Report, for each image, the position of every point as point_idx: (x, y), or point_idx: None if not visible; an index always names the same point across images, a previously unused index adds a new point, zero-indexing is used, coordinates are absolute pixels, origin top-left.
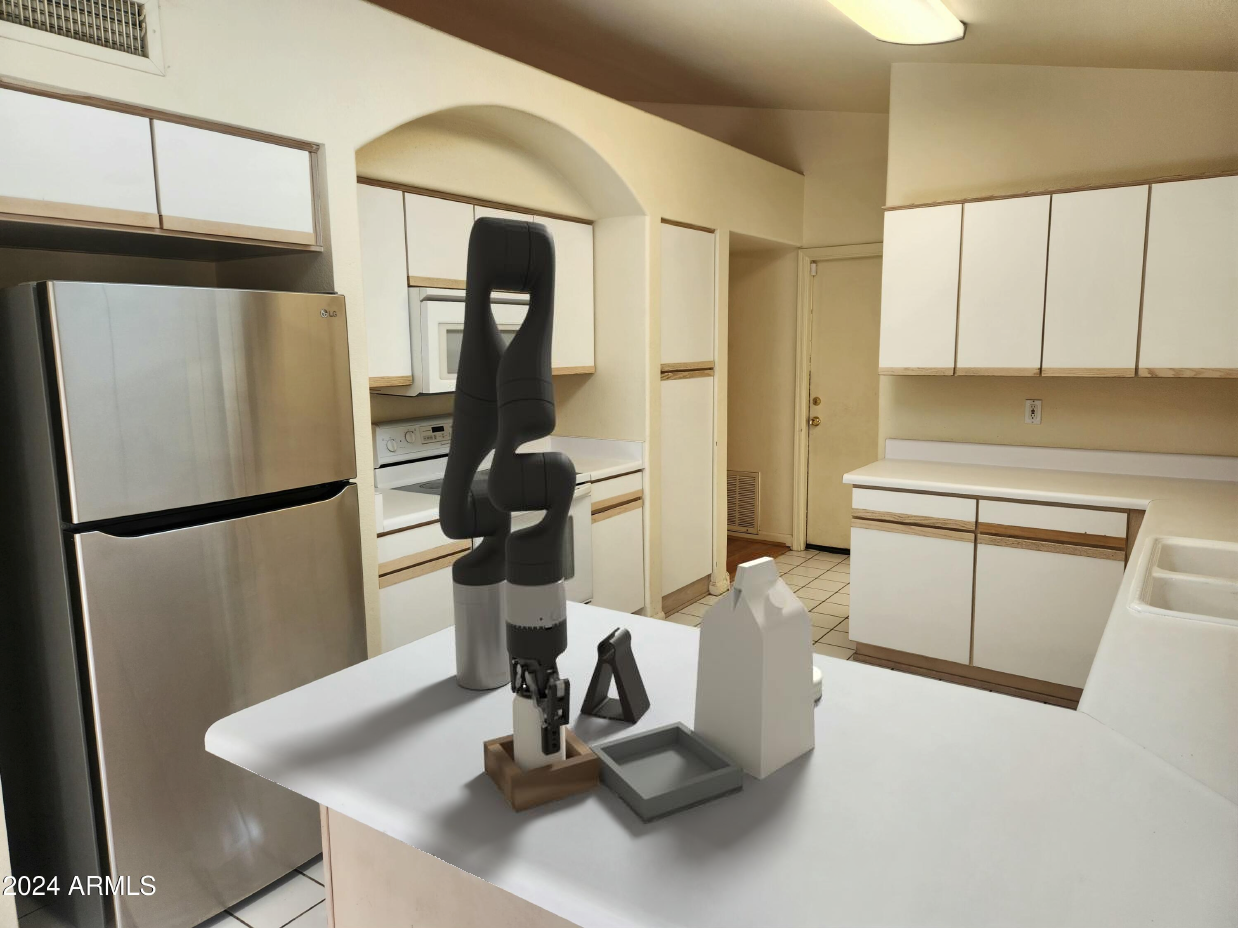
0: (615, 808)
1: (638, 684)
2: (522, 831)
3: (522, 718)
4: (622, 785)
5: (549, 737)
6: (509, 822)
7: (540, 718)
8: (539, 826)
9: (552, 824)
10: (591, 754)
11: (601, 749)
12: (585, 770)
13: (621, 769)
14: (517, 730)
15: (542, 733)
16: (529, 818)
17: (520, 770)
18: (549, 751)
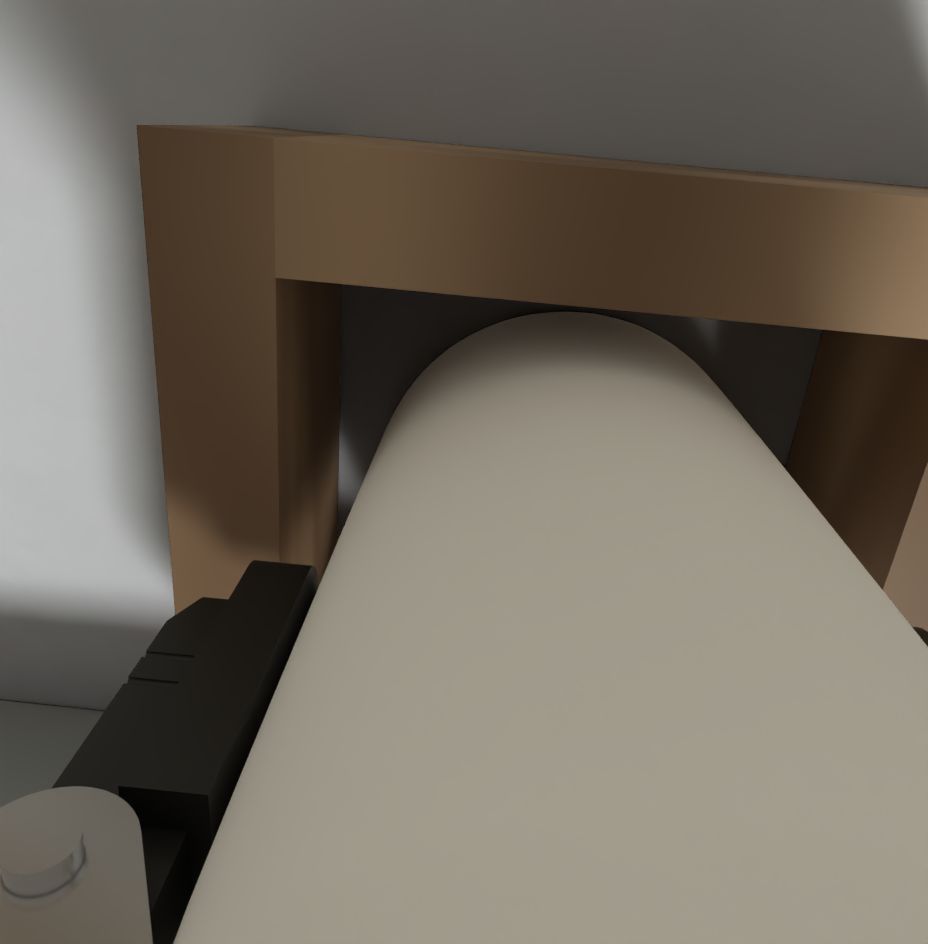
0: (25, 647)
1: None
2: (5, 47)
3: (440, 689)
4: (20, 778)
5: (106, 725)
6: (156, 13)
7: (121, 902)
8: (19, 189)
9: (8, 276)
10: None
11: None
12: None
13: None
14: (579, 508)
15: (191, 709)
16: (140, 176)
17: (317, 275)
18: (187, 609)
